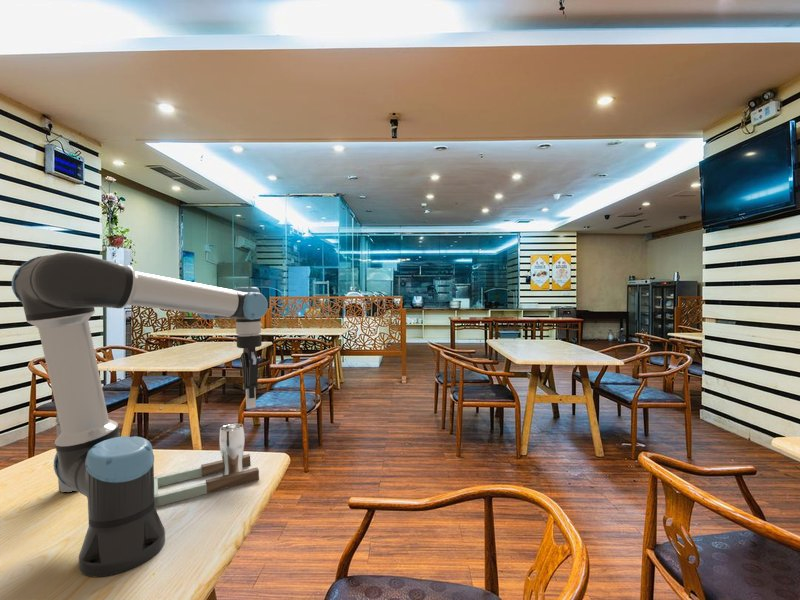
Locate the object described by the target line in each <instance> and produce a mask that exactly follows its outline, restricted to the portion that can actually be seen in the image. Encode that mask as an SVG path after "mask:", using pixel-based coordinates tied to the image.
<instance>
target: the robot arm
mask: <svg viewBox="0 0 800 600" xmlns="http://www.w3.org/2000/svg"><path fill="white" fill-rule="evenodd" d="M11 288H12V289H11V290H12V292H13V294H14V296H15V297H16V298H17V300H18V301H19V302H20V303H22V307H23V311H24V315H25V319H26V322H27V323H28V324H30V325H31V326H34V327H36V328H37V329H38V333H39V337H40V342H41V347H42V351H43V355H44V356H43V357H44V360H45V363H46V369H47V373H48V377H49V381H50V386H51V390H52V395H53V399H54V400H53V401H54V404H55V409H56V414H57V413H58V418H59V422H60V427H61V431H62V432H61V434H60V435H59V436H58V438H57V437H56V438H55V440H54V445H55V446H54V447H55V451H56V453H55V456H54V459H53V470H54V473H55V475H56V477H57V480H58V479H59V480H60V481H61V482H62V483H63V484H65V485H66V486H68V487H70V488H73V489H74V490H76V492H78V493H79V494H82V495H83V496H85V497H86V498H87V512H88V513H87V514H88V515H87V517H88V528H87V529H86V534H85V536H84V540H83V543H82V544H81V545H82V546H81V549H80V552H79V556H78V568H79V569H80V570H79V571H81V572H82V573H81V572H80V573H81V574H83V575H84V574H85V575H84V576H87V575H88V577H93V576H100V577H107V576H108V577H109V576H113V575H117V574H119V573H123V572H124V573H125V572H127V571H128V570H132V569H135V568H136V567H139V566H140V565H142V564H143V563H145V562H147V561H149V560H150V559H151V558H153V557H154V556H156V555H157V554H158V553H159V552H160V550H162V548H163V547H164V545H165V543H166V530H165V527H164V525H163V523H162V521H161V518H160V516H159V514H158V512H157V509H156V507H155V501H154V477H155V471H154V470H155V467H154V463H155V454H154V451H153V445H152V443H151V442H150V441H149V440H148V439H146V438H144V437H141V436H136V435H134V436H129V435H126V436H121V432H120V428H119V427H120V426H119V424H118V422H117V421H115V420H112V419H110V418H109V415H108V414H109V413H108V410H107V405H106V399H105V395H104V390H103V386H102V385H103V383H102V381H101V376H100V371H99V365H98V361H97V356H96V352H95V348H94V342H93V338H92V337H93V336H92V333H91V328H90V322H89V321H90V318H91V317H93V315H94V314H95V313H96V311H95V308H112V309H120V310H121V309H123V308H126V307H127V306H132V307H133V306H134V307H144V308H150V309H161V310H169V311H178V312H184V313H193V314H198V316H199V317H200V318H202V319H203V320H217V319H218V320H219V319H220V320H221V319H224V320H225V319H227V320H228V319H229V320H231V319H232V320H235V334H236V335H238V336H236V347H237V348H238V349H243V350H242V353H241V355H240V358H241V365H242V367H241V368H242V377H243V385H244V389H245V408H246V409H248V410H249V409H255V408H257V401H256V400H257V398H256V397H257V395H256V394H257V392H256V388H257V387H258V381H259V380H258V378H259V377H258V376H259V375H258V374H259V362H260V359H259V357H258V353H257V352H256V351H257V349H256V348H259V347H262V345H263V344H262V343H263V342H262V335H261V333H262V327H263V323H262V321H261V318H263V317H264V316H265V315H266V314H267V311H268V308H269V307H268V306H269V304H268V300H267V298H266V297H265V295H263V294H262V293H261V292H260V289H259V288H258V287H257V286H236V288H235V289H232V288H225V287H221V286H220V287H219V286H215V285H210V284H209V285H208V284H204V283H199V282H194V281H193V282H192V281H187V280H182V279H178V278H173V277H167V276H162V275H161V276H160V275H157V274H151V273H146V272H141V271H135V269H133V267H132V266H131V265H128V264H123V263H119V262H115V261H111V260H106V259H103V258H97V257H94V256H91V255H86V254H83V253H82V254H81V253H77V252H58V253H55V254H48V255H42V256H41V255H40V256H36V257H34V258H31V259H28V260H27V261H25V262H24V263H22V264H21V265H20V266H19V267H18V268H17V269H16V270H15V272H14V274H13V275H12V279H11Z"/></svg>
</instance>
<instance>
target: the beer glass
mask: <svg viewBox="0 0 800 600" xmlns="http://www.w3.org/2000/svg"><path fill="white" fill-rule="evenodd" d="M219 451H220V456H221V460H223V472H222V476H224V475H228V474H232V473H236V472H240V471H244V467H243V466H242V458H243V455H244V451H245V430H244V425H243V424H242V423H230V424H226V425H222V426H221V427H220V428H219Z"/></svg>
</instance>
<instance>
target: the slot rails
mask: <svg viewBox="0 0 800 600" xmlns="http://www.w3.org/2000/svg"><path fill="white" fill-rule="evenodd" d="M242 466H243V468H245V467H249V466H251V455H250V453H247V454H243V458H242ZM200 467H202V476H201V477H204V478H205V477H208V476H213V475H215V474H216V475H217V474H220V473H223V460H222V459H221V460H216V461H213V462H207V463H203V464H201V465H200ZM259 480H260V471H259V468H258V467H253V468H250V469H245V470H244V469H243V471H240V472H236V473H232V474H228V475H224V476H223V475H220V476H217V477H211V478H208V479H206V480H205V482H206V484H207V494H210V493H213V492H218V491H222V490H226V489H229V488H232V487H233V488H234V487H237V486H240V485H244V484H248V483H253V482H256V481H259Z"/></svg>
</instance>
